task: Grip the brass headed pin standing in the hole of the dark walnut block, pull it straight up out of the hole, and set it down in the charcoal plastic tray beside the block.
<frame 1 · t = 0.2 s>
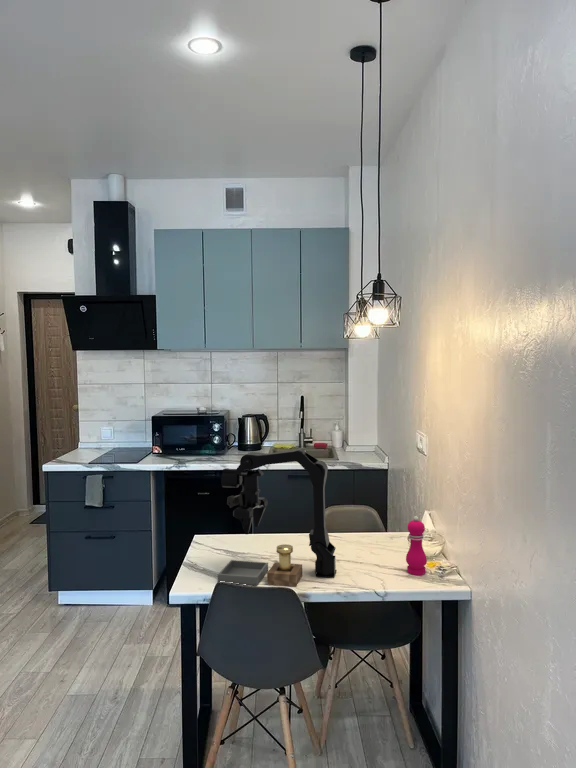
hand: (251, 530, 200), 14 cm above the table, tool pointing down, fingers open, 9 cm apart
pepper mill: (416, 572, 196), on the table
brass pin: (284, 563, 190), in the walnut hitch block
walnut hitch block: (285, 580, 190), on the table
charcoal tray: (243, 576, 194), on the table
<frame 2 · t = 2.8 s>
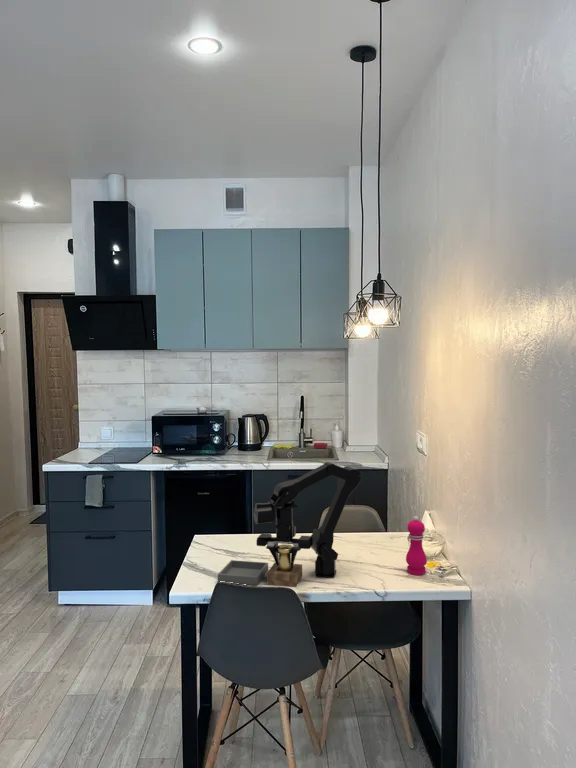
hand: (285, 565, 190), 5 cm above the table, tool pointing down, fingers closed on brass pin, 5 cm apart
brass pin: (284, 563, 190), in the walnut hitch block, touching gripper
everything else where it was.
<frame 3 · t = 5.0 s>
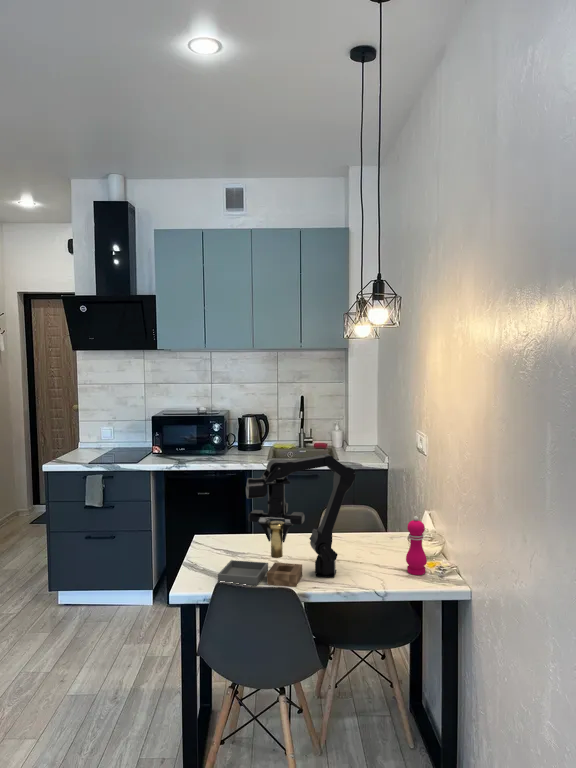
hand: (276, 541, 190), 13 cm above the table, tool pointing down, fingers closed on brass pin, 5 cm apart
brass pin: (276, 539, 190), point 14 cm above the table, touching gripper
everything else where it was.
when the fingers open (7 cm above the table, at t = 7.6 s): brass pin drops 1 cm, resting on charcoal tray.
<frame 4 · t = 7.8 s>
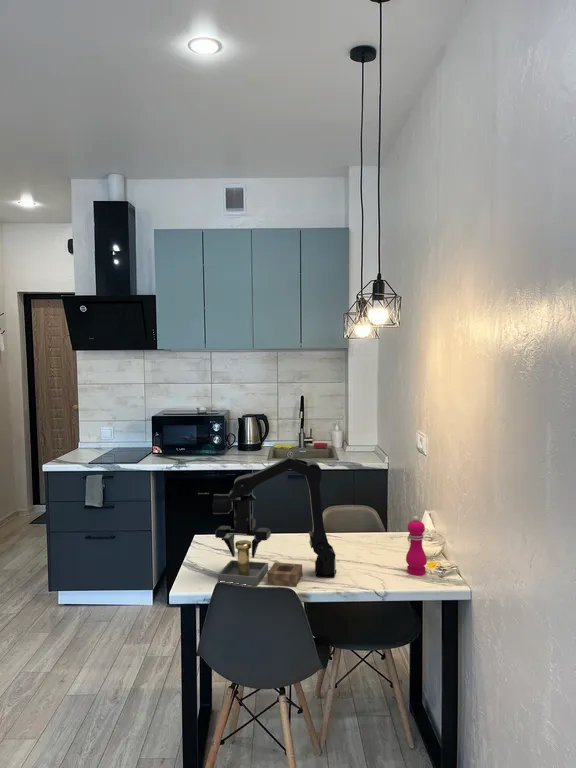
hand: (243, 557, 193), 7 cm above the table, tool pointing down, fingers open, 7 cm apart
brass pin: (243, 559, 193), in the charcoal tray, point 6 cm above the table
everything else where it was.
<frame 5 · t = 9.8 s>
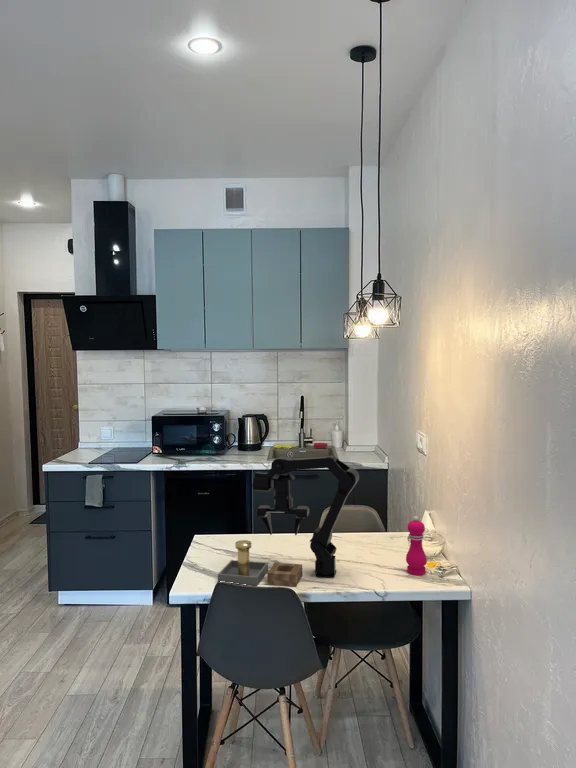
hand: (283, 534, 200), 13 cm above the table, tool pointing down, fingers open, 9 cm apart
nothing on the table moved.
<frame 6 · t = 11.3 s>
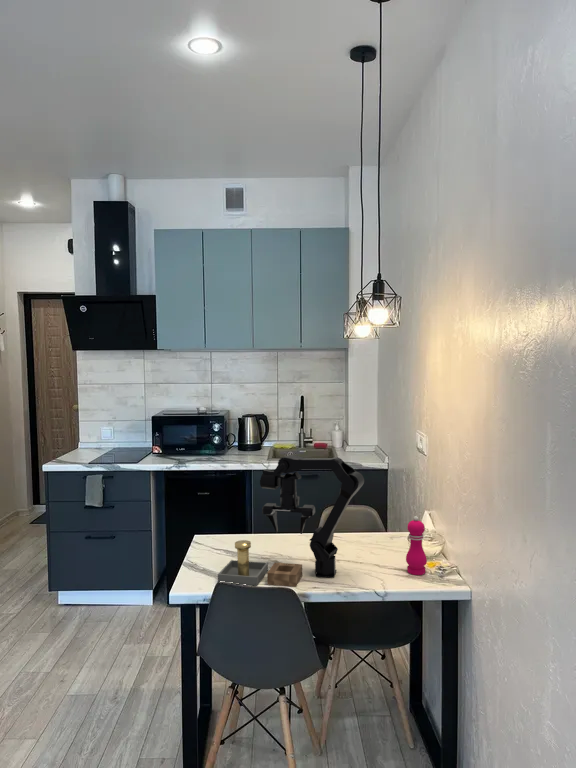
hand: (289, 532, 201), 13 cm above the table, tool pointing down, fingers open, 9 cm apart
nothing on the table moved.
at the end: brass pin inside the target area on the charcoal tray (0.1 cm from its centre), point 6.4 cm above the charcoal tray's base; the gripper is holding nothing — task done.
